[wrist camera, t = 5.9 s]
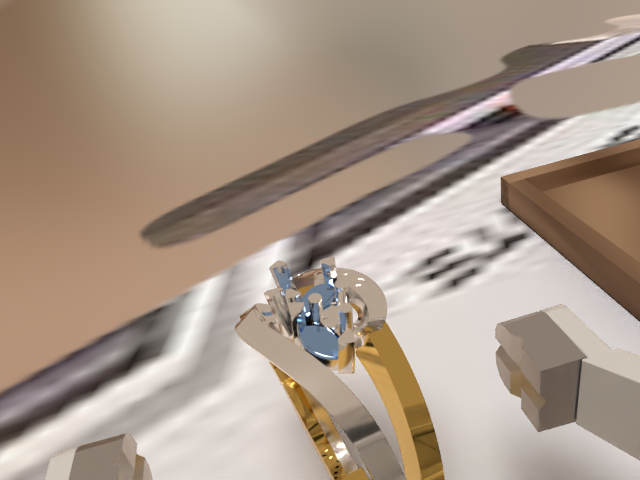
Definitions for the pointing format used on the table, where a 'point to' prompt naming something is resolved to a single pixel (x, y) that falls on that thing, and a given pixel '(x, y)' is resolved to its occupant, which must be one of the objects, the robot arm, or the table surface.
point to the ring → (342, 370)
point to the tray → (587, 214)
